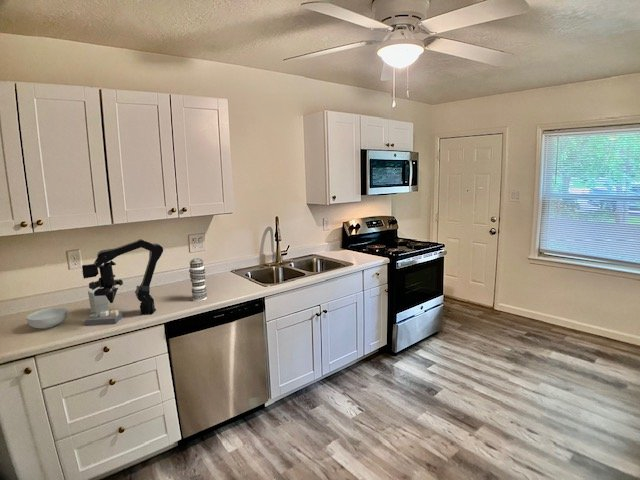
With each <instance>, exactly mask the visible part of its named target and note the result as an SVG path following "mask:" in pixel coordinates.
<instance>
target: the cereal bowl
mask: <svg viewBox="0 0 640 480" xmlns="http://www.w3.org/2000/svg"><path fill="white" fill-rule="evenodd" d="M68 313H69V312H68V309H67V308H66V307H60V306H56V307H49V308H44V309H40V310H37V311H33V312H32V313H30V314H28V315H27V316H26V321H27V324H28V325H29V326H30V327H32V328H35V329H42V330H43V329H44V330H47V329H53V328H54V327H57V326H59V325H60V324H62V323H63V322H65V321H66V319H67V318H68Z"/></svg>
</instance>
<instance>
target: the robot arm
mask: <svg viewBox="0 0 640 480" xmlns="http://www.w3.org/2000/svg"><path fill="white" fill-rule="evenodd" d="M140 248H142V249H145V250H147V251H149V252H148V254H149V255H148V257H149V258H148V262H147V264H146V268H145V271H144V275H143V278H142V281H141V283H140V285H136V289H135V291H134V293H135V297H136V298H137V300H138V301H139V302H140V305H139V311H140V315H153V314H154V313H155V312H156V311H157V308H156V307H155V299H154V297H153V296H152V295H151V294H150V292H151V291H150V287H151V286H150V285H151V283H152V280H153V276H154V274H155V273H154V272H155V268H156V266H157V263H158V262H159V261H158V260H159V259H160V258H161V257H162V254H163V252H164V247H163V246H161V245H160V244H159V243H152V242H148V241H146V240H144V239H138V240H135V241H132V242H129V243H127V244H123V245H120V246H119V247H116V248H106V249H102V250H99V251H98V252H97V254H96V257H97V258H96V259H95V261H93V263H91V264H90V263H88V264H81V269H82V271H81V272H82V278H83V279H84V280H85V279H90V278H94V277H97V276H98V275H100V276H99V278H98V280H96V281H91V282H89V283H88V289H90V290H94V289H97V290H95V292H94V296H106V297H107V299H108V303H109V304H113V303H114V300H115V297H116V295H117V292H118V290H119V287H116V285H119V286H122V285H124V282H123V280H122V279H115V277H116V274H114V272H113V271H114V270H113V266H116V264H117V263H116V262H114V261H113V260H114V259H115V258H117V257H119V256H121V255H124V254H127V253H129V252H133V251H134V250H135V251H136V250H138V249H140ZM98 288H99V289H98Z"/></svg>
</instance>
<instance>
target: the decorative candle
mask: <svg viewBox="0 0 640 480" xmlns="http://www.w3.org/2000/svg"><path fill="white" fill-rule="evenodd" d="M188 270H189V271H188V272H189V278H190V282H191V295H192V301H194V302H202V300H203V301H205V300H207V299H208V292H207V286H206V269H205V267H204V260H202V259H201V258H199V257H197V258H192V259H191V260H190V261H189V269H188Z"/></svg>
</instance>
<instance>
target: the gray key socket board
mask: <svg viewBox="0 0 640 480" xmlns="http://www.w3.org/2000/svg"><path fill="white" fill-rule="evenodd" d="M110 312H111V311H109V315H108V316H107V317H100V313H99V316H98V317H95V318H90V316H88V317H87V318H86V319H85V320H84V325H85V326H86V327H87V326H102V325H117V323H119V322H118V321H119V320H123V318H124V317H125V312H124V310H121V311H120V310H118V312H119V314H118V315H117V316H110ZM93 314H98V313H93Z"/></svg>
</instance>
